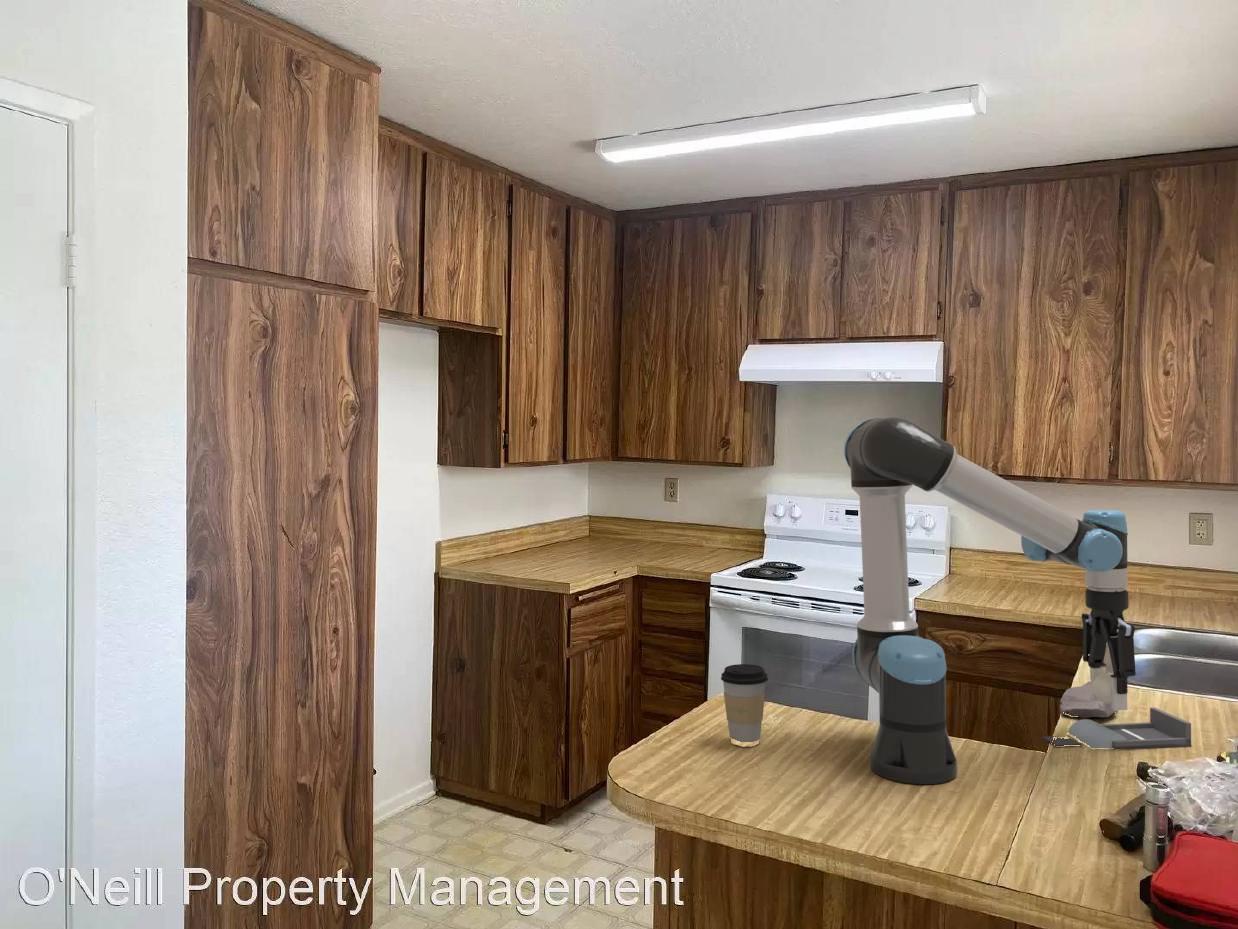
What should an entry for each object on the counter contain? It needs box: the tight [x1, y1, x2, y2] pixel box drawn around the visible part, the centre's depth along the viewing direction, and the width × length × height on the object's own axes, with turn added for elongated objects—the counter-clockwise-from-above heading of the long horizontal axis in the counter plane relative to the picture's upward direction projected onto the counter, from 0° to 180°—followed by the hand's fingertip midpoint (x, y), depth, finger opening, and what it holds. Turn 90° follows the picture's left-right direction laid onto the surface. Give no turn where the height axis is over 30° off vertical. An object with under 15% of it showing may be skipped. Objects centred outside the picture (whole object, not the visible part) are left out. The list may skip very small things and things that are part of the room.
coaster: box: [1042, 735, 1082, 747], centre depth 179 cm, size 5×5×1 cm
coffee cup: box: [720, 663, 769, 742], centre depth 183 cm, size 9×9×15 cm
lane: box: [1101, 707, 1192, 750], centre depth 180 cm, size 16×11×4 cm
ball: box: [1092, 672, 1114, 704], centre depth 180 cm, size 6×6×6 cm
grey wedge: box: [1067, 718, 1127, 749], centre depth 180 cm, size 9×8×8 cm
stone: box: [1059, 681, 1119, 719], centre depth 197 cm, size 13×10×6 cm
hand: (1109, 704), depth 180 cm, fingers closed on ball, 6 cm apart
